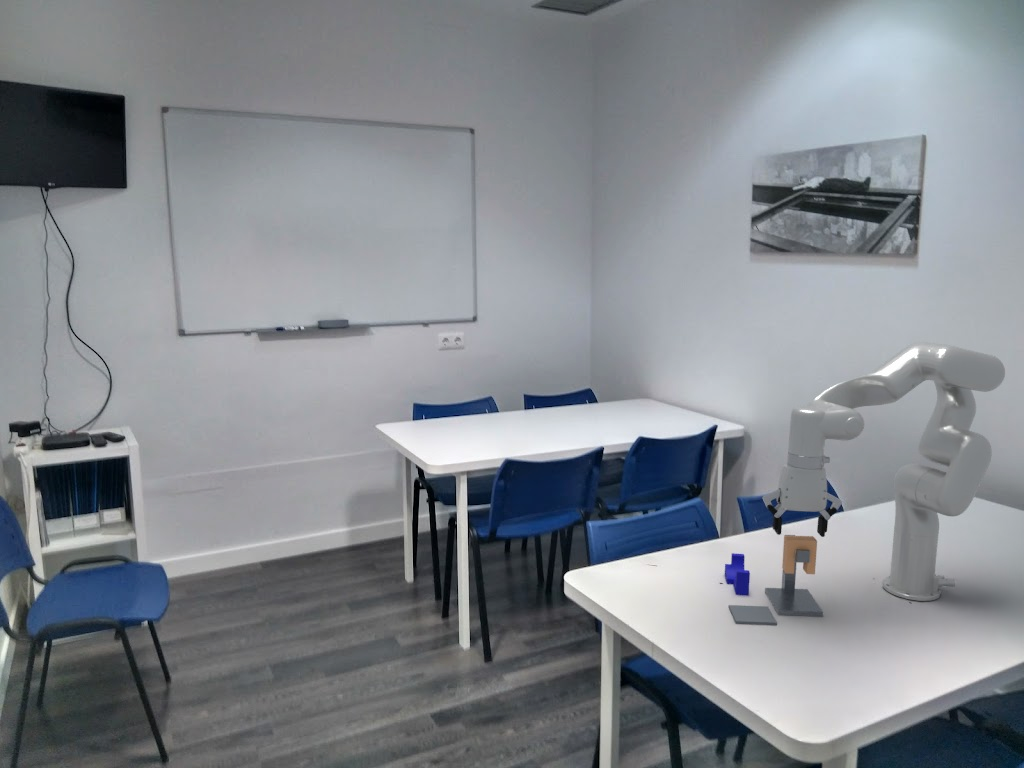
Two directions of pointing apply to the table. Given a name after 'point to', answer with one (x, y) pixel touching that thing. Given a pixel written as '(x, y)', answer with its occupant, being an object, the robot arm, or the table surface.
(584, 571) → the table surface
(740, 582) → the blue toy block
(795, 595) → the stand
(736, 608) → the mat
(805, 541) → the c link
